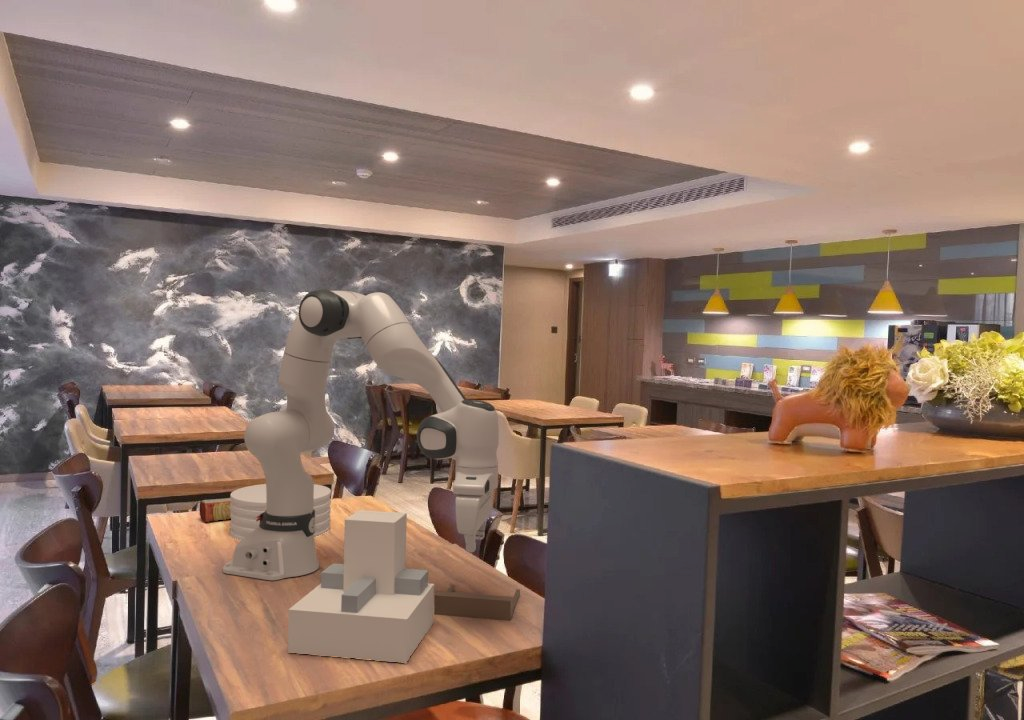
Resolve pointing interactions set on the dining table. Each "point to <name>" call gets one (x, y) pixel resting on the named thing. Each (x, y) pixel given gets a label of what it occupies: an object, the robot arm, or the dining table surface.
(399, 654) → the pillar on square base
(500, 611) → the glasses frame
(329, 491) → the plate stack
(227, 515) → the snack package
